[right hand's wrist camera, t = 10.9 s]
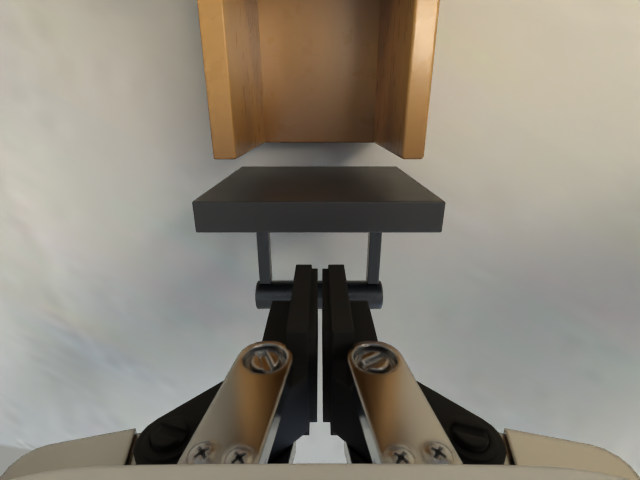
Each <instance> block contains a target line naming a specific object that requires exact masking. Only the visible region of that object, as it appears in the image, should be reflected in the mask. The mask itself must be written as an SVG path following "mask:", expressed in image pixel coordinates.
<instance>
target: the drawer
mask: <svg viewBox="0 0 640 480" xmlns="http://www.w3.org/2000/svg"><path fill="white" fill-rule="evenodd" d="M439 2H440V0H197V4H198V13H199V23H200V32H201V42H202V51H203V61H204V70H205V80H206V89H207V99H208V108H209V118H210V127H211V137H212V146H213V156H214V159H236V158H238V157H240V156H242V155H243V154H245V153H247V152H249V151H250V150H252V149H254V148H256V147H258V146H259V145H261V144H263V143H265V142H345V143H376V144H378V145H380V146H381V147H383V148H385V149H387V150H388V151H390V152H392V153H394V154H395V155H397V156H399V157H401V158H403V159H422V158H423V157H424V148H425V139H426V129H427V119H428V109H429V100H430V90H431V80H432V70H433V61H434V51H435V41H436V32H437V22H438V12H439ZM192 204H193V212H194V219H195V227H196V232H256V233H257V248H258V262H259V277H260V281H258V282H257V285H256V294H255V300H256V307H257V308H258V309H270V308H271V304H272V301H273V300H291V295H292V288H293V282H294V281H272V264H271V246H270V232H369V233H368V252H367V271H366V281H346V282H347V288H348V295H349V300H367V301H368V304H369V308H370V309H381V308H382V303H383V289H382V284H381V281H379V267H380V252H381V237H382V232H441V231H442V225H443V217H444V209H445V201H443V200H442V199H440V198H439V197H438V196H436V195H435V194H434V193H432V192H431V191H429V190H428V189H427V188H425V187H424V186H422V185H421V184H420V183H418V182H417V181H416V180H414V179H413V178H411V177H410V176H409V175H407V174H406V173H404V172H403V171H402V170H400V169H399V168H397V167H241V168H240V169H238V170H237V171H235V172H234V173H233V174H231V175H230V176H228V177H227V178H225V179H224V180H223V181H221V182H220V183H218V184H217V185H216V186H214V187H213V188H211V189H210V190H208V191H207V192H206V193H204V194H203V195H201V196H200V197H199V198H197V199H196V200H194V201H193V202H192ZM318 309H322V281H318Z"/></svg>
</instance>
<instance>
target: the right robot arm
mask: <svg viewBox="0 0 640 480" xmlns="http://www.w3.org/2000/svg"><path fill="white" fill-rule="evenodd" d="M317 365H318V269H312V265H296V269H295V276H294V282H293V288H292V295H291V300H273V301H272V304H271V308H270V312H269V316H268V320H267V324H266V328H265V332H264V336H263V340H262V341H261V342H256V343H254V344H251V345H249V346H247V347H246V348H245V349H243V350H242V351H241V352H240V354H239V355H238V357H237V358H236V360H235V362H234V364H233V365H232V367H231V369H230V371H229V372H228V374H227V376H226V378H225V380H224V381H222V382H221V383H219V384H217V385H215V386H214V387H212V388H210V389H209V390H207V391H205V392H203V393H202V394H200V395H198V396H196V397H195V398H193V399H191V400H190V401H188V402H186V403H184V404H183V405H181V406H179V407H177V408H176V409H174V410H172V411H171V412H169V413H167V414H165V415H164V416H162V417H160V418H158V419H157V420H155V421H154V422H153V423H151V424H150V425H148V426H147V427H146V428H145V430H144V431H143V432H142V433H138V434H137V433H136V429H135V428H134V429H129V430H124V431H119V432H113V433H108V434H103V435H98V436H92V437H87V438H82V439H76V440H71V441H66V442H61V443H55V444H50V445H46V446H43V447H40V448H37V449H35V450H33V451H31V452H29V453H27V454H25V455H23V456H22V457H21V458H19V459H18V460H17V461H15V462H14V463H13V464H12V465H10V466H9V467H8V469H7V470H6V471H5V472H4V473H3V475H2V476H1V477H0V480H640V477H639V476H638V475H637V473H636V472H635V471H634V470H633V469H632V467H631V466H630V465H628V464H627V463H626V462H625V461H623V460H622V459H621V458H620V457H618V456H617V455H615V454H613V453H611V452H609V451H607V450H605V449H603V448H600V447H597V446H594V445H590V444H585V443H579V442H574V441H569V440H564V439H558V438H553V437H548V436H542V435H537V434H532V433H527V432H521V431H516V430H511V429H506V428H505V429H504V433H503V434H502V433H498V432H497V431H496V430H495V428H494V427H493V426H492V425H490V424H489V423H487V422H486V421H485V420H483V419H482V418H480V417H478V416H476V415H475V414H473V413H471V412H469V411H468V410H466V409H464V408H463V407H461V406H459V405H457V404H456V403H454V402H452V401H450V400H449V399H447V398H445V397H444V396H442V395H440V394H438V393H437V392H435V391H433V390H431V389H430V388H428V387H426V386H425V385H423V384H421V383H419V382H418V381H416V380H415V378H414V376H413V374H412V372H411V371H410V369H409V367H408V365H407V364H406V362H405V360H404V358H403V357H402V355H401V354H400V352H399V351H398V350H397V349H395V348H394V347H393V346H391V345H389V344H386V343H384V342H379V341H378V340H377V336H376V332H375V328H374V324H373V320H372V316H371V312H370V308H369V304H368V301H367V300H349V295H348V288H347V282H346V276H345V269H344V265H328V269H322V365H323V422H330V426H331V435H338V436H339V437H340V438H341V439H343V440H344V451H345V457H346V461H347V464H293V461H294V457H295V451H296V440H297V439H299V438H300V437H301V436H302V435H309V426H310V422H317Z"/></svg>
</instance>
